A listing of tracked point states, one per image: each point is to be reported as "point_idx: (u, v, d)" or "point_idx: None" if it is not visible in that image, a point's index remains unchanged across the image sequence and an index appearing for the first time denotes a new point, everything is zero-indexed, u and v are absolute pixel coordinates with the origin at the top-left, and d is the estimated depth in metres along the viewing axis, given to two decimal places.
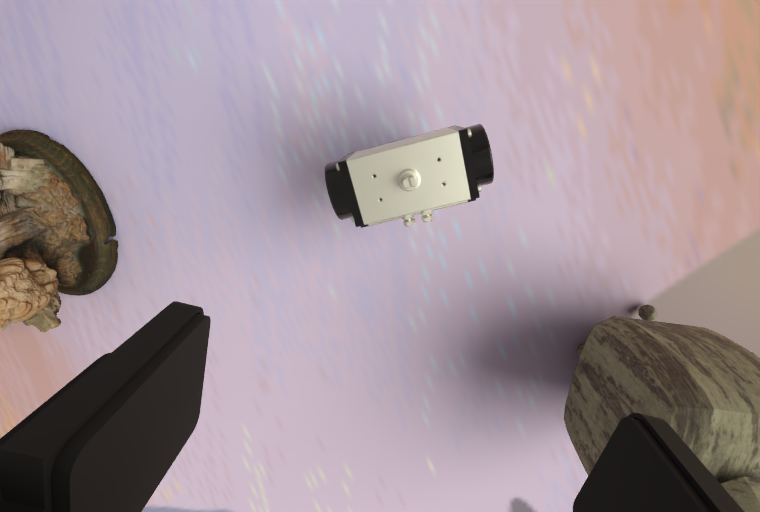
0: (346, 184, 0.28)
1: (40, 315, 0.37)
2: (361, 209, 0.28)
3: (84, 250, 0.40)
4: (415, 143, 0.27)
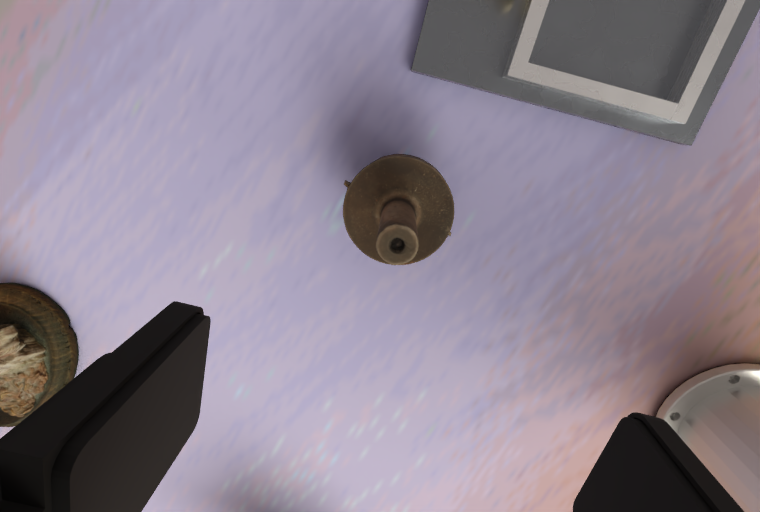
0: None
1: None
2: None
3: None
4: None
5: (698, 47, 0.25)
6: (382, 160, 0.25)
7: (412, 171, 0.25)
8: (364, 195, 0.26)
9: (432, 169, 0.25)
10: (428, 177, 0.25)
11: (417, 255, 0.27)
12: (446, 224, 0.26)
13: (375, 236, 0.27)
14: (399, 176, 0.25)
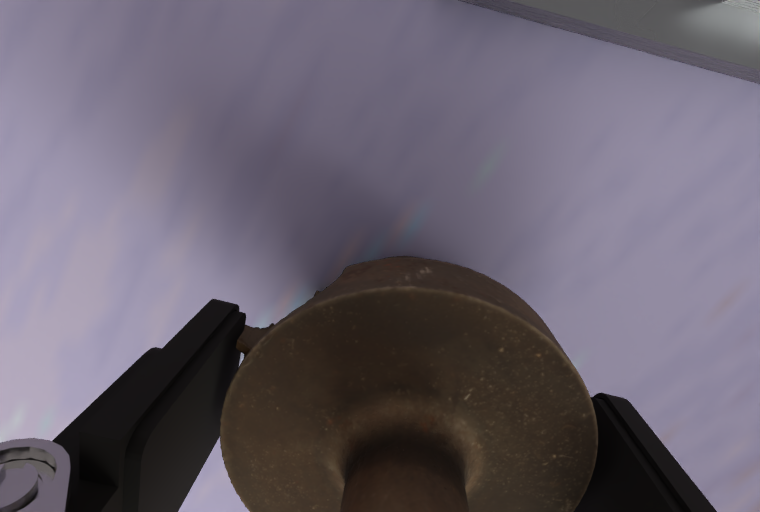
0: None
1: None
2: None
3: None
4: None
5: None
6: (345, 299, 0.07)
7: (459, 337, 0.07)
8: (287, 406, 0.07)
9: (534, 334, 0.07)
10: (516, 359, 0.07)
11: None
12: (564, 494, 0.08)
13: None
14: (410, 353, 0.07)
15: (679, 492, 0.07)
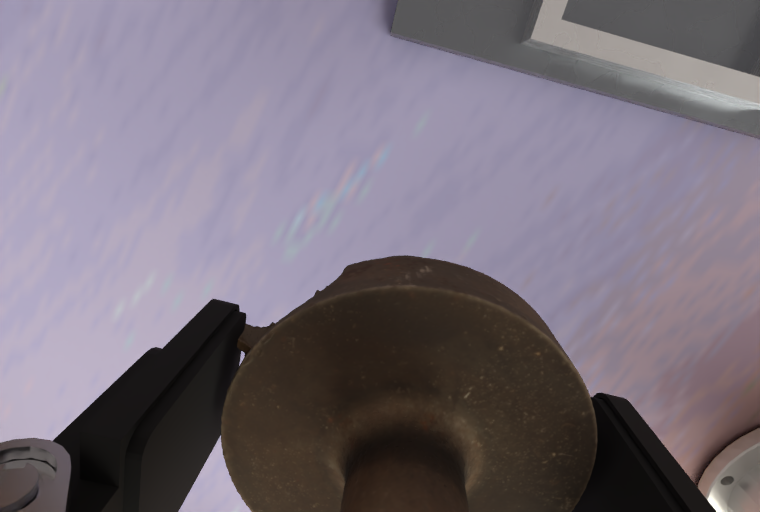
0: None
1: None
2: None
3: None
4: None
5: None
6: (345, 298, 0.07)
7: (459, 336, 0.07)
8: (288, 404, 0.07)
9: (533, 333, 0.07)
10: (516, 357, 0.07)
11: None
12: (564, 492, 0.08)
13: None
14: (410, 351, 0.07)
15: (678, 492, 0.07)
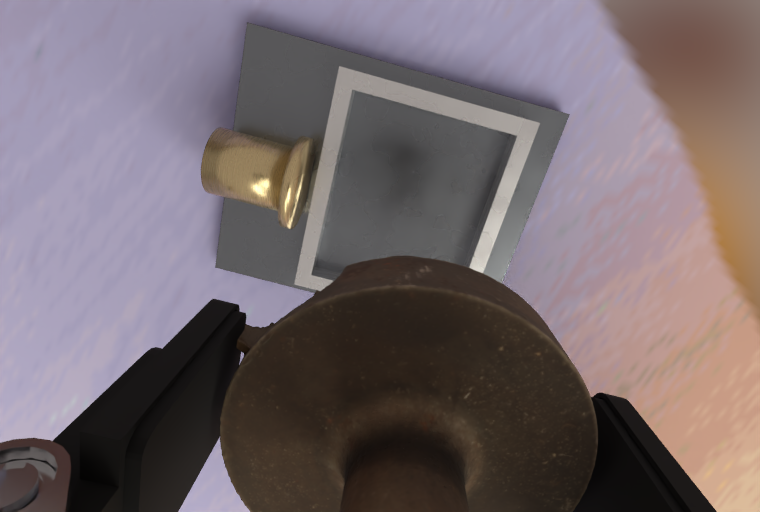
0: None
1: None
2: None
3: None
4: None
5: (467, 263, 0.27)
6: (345, 298, 0.07)
7: (458, 336, 0.07)
8: (287, 405, 0.07)
9: (534, 333, 0.07)
10: (516, 358, 0.07)
11: None
12: (564, 493, 0.08)
13: None
14: (410, 352, 0.07)
15: (679, 492, 0.07)
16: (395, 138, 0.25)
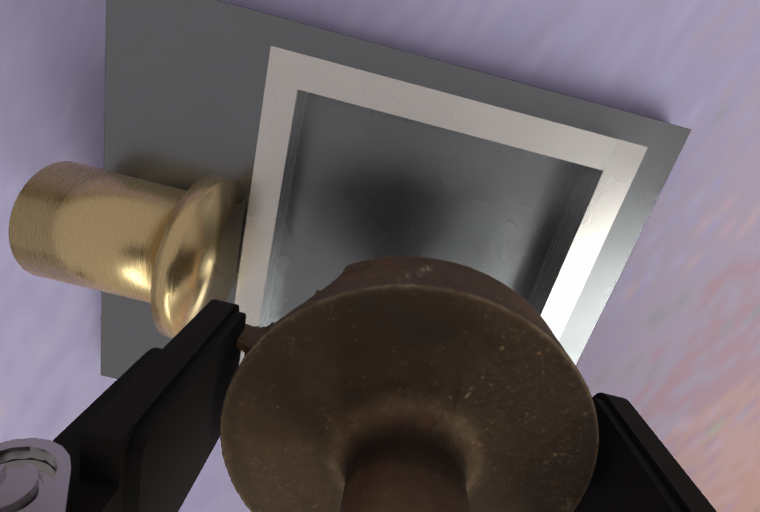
0: None
1: None
2: None
3: None
4: None
5: None
6: (346, 298, 0.07)
7: (459, 336, 0.07)
8: (288, 404, 0.07)
9: (534, 332, 0.07)
10: (517, 357, 0.07)
11: None
12: (565, 492, 0.08)
13: None
14: (410, 351, 0.07)
15: (678, 492, 0.07)
16: (381, 173, 0.15)
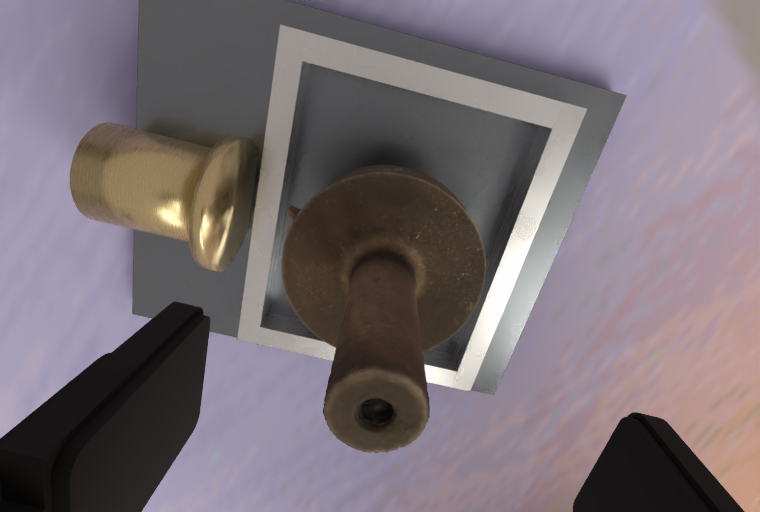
0: None
1: None
2: None
3: None
4: None
5: (477, 307, 0.20)
6: (356, 178, 0.13)
7: (414, 201, 0.13)
8: (321, 240, 0.14)
9: (452, 201, 0.13)
10: (443, 215, 0.13)
11: None
12: (469, 298, 0.14)
13: (339, 311, 0.15)
14: (388, 210, 0.13)
15: None
16: (372, 134, 0.18)
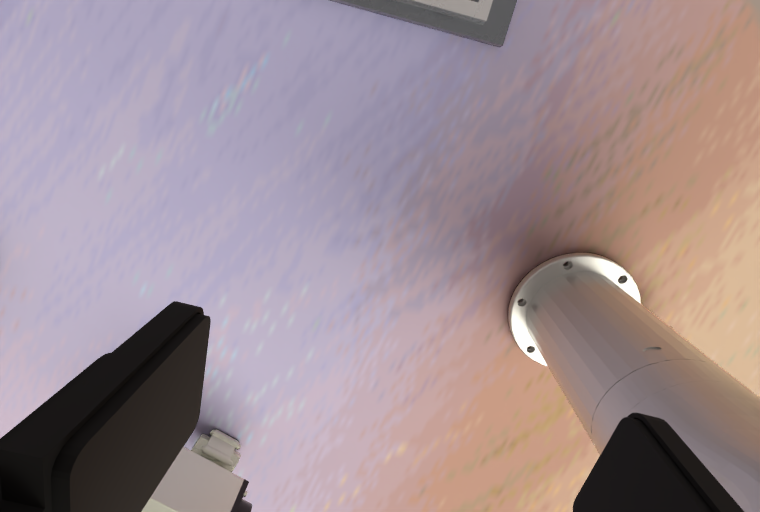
0: None
1: None
2: None
3: None
4: None
5: None
6: None
7: None
8: None
9: None
10: None
11: None
12: None
13: None
14: None
15: None
16: None
